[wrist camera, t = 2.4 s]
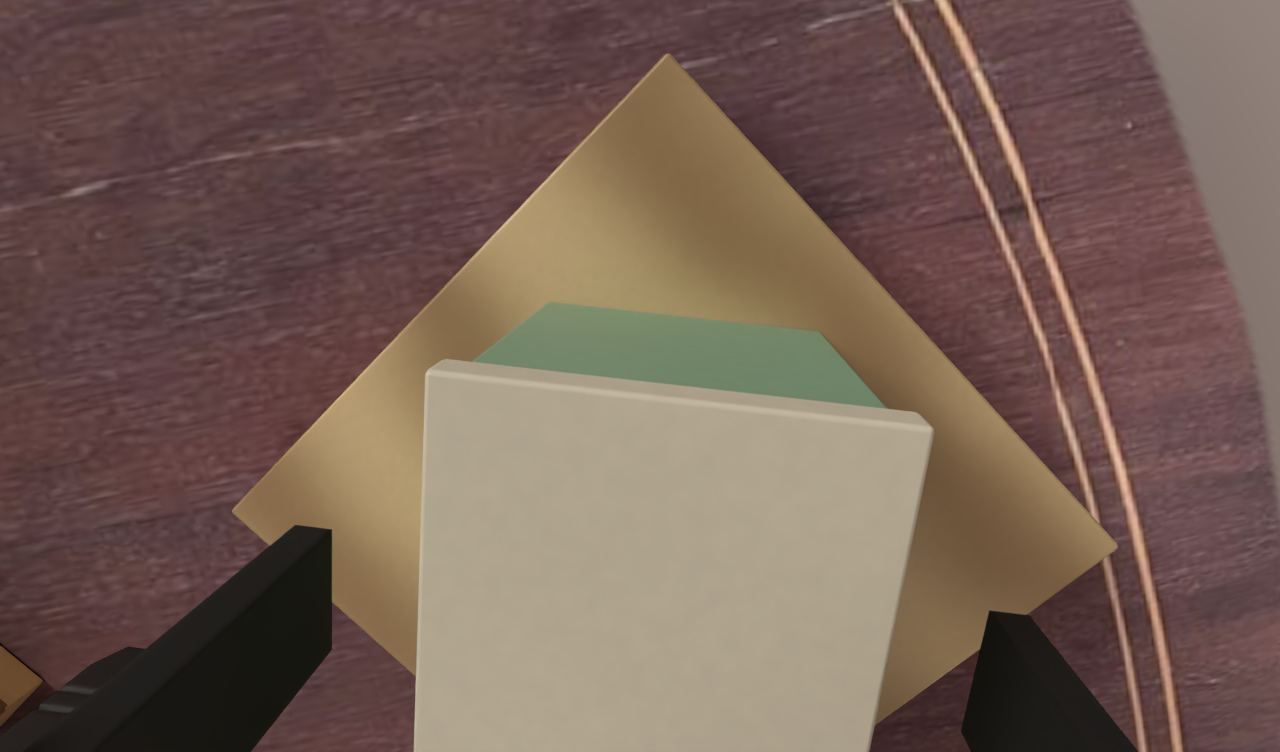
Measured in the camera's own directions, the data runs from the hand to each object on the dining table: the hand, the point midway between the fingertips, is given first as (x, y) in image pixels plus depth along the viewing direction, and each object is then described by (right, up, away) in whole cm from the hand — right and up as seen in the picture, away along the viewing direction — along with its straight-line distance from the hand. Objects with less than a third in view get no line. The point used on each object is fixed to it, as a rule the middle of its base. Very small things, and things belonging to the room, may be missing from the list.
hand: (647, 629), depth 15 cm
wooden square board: (0, +2, +7) cm, 7 cm away
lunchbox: (0, +1, +4) cm, 4 cm away
